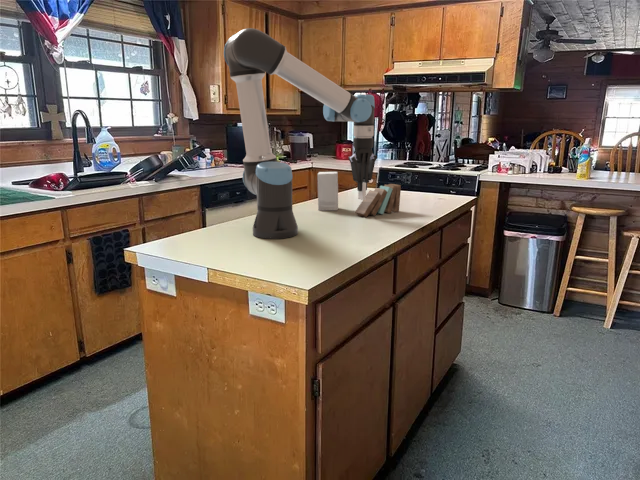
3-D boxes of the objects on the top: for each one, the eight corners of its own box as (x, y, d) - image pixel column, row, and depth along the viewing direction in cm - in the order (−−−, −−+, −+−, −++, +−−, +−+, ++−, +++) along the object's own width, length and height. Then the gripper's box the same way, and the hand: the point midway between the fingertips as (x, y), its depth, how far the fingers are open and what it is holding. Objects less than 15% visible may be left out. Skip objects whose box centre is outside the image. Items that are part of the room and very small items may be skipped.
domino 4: (395, 212, 195) (397, 185, 193) (386, 210, 199) (388, 184, 197) (398, 211, 197) (401, 185, 194) (390, 209, 201) (392, 183, 198)
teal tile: (379, 212, 190) (389, 187, 190) (370, 210, 194) (380, 185, 194) (382, 214, 191) (392, 189, 192) (374, 212, 195) (383, 187, 195)
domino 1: (363, 214, 185) (378, 191, 187) (355, 212, 189) (369, 190, 191) (366, 217, 186) (381, 195, 188) (357, 215, 190) (372, 193, 192)
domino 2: (371, 213, 187) (384, 189, 189) (363, 211, 191) (375, 187, 193) (375, 216, 189) (387, 192, 190) (366, 213, 192) (378, 190, 194)
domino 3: (387, 212, 193) (393, 185, 191) (378, 210, 196) (384, 184, 195) (391, 213, 194) (397, 186, 193) (382, 211, 198) (388, 185, 197)
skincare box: (338, 208, 204) (338, 171, 200) (337, 211, 198) (337, 173, 194) (318, 207, 205) (318, 171, 201) (317, 210, 199) (317, 173, 195)
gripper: (357, 138, 173) (355, 202, 179) (383, 137, 181) (380, 198, 187) (343, 137, 179) (342, 199, 185) (369, 136, 187) (367, 196, 193)
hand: (361, 199), depth 186 cm, fingers closed
